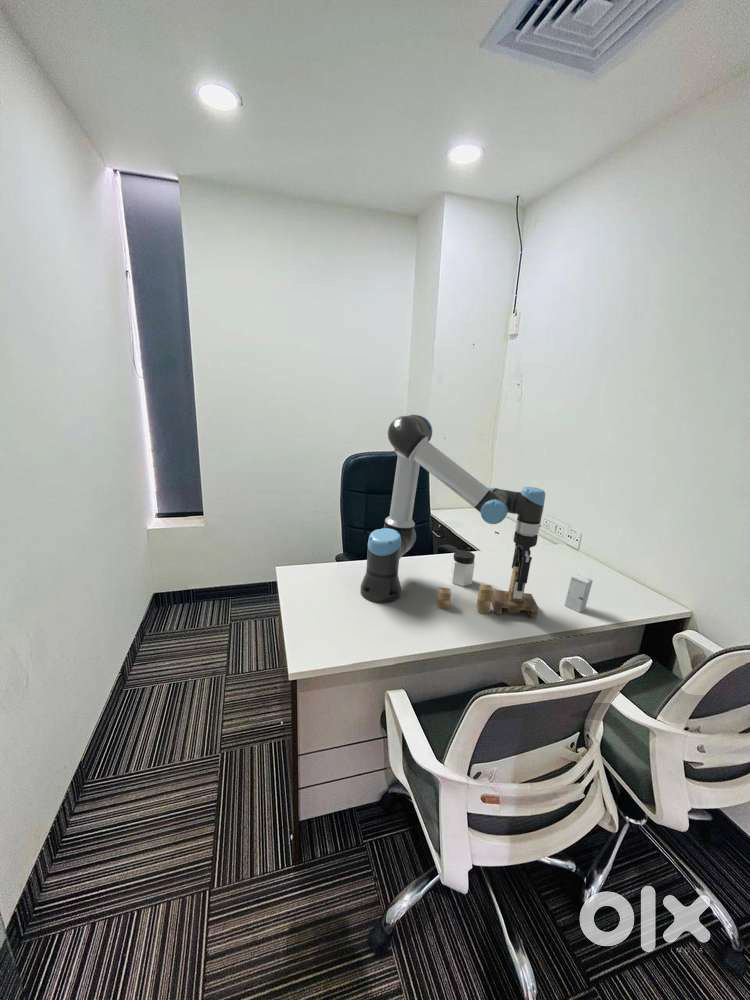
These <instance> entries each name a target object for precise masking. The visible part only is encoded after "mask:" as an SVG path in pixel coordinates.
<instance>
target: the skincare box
mask: <svg viewBox="0 0 750 1000" xmlns="http://www.w3.org/2000/svg"><path fill="white" fill-rule="evenodd" d="M592 585H593V580H592V579H590V578H589V577H586V576H584V575H581V574H579V573H576V574H574V575H572V576H571V578H570V581H569V586H568V589H567V592H566V593H567V594H566V596H565V601H564V606H565V607H567V608H569V609H571V610H573V611H575V612H577V613H581V612H583V611H585V610H586V607H587V603H588V601H589V600H588V599H589V597H590V592H591V588H592Z"/></svg>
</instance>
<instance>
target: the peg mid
mask: <svg viewBox="0 0 750 1000" xmlns="http://www.w3.org/2000/svg"><path fill="white" fill-rule="evenodd" d="M493 590H494V589H493V587H492V585H490V584H482V583H479V588H478V594H477V598H476V599H477V600H476V601H477V602H476V607H475V608H476V610H477V611H476V612H477V613H480V614H487V615H488V614H490V610H491V606H492V603H491V600H492V594H493Z"/></svg>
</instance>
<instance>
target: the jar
mask: <svg viewBox="0 0 750 1000" xmlns="http://www.w3.org/2000/svg"><path fill="white" fill-rule="evenodd" d="M475 557H476V555H475V554H474V553H473V552H471V551H469V550H465V549H458V550H456V551H454V553H453V557H452V561H451V571H450V577H449V578H450V580H451V583H452V584H453V585H458V586H461V587H467V586H471V585H472V584H473V577H474V571H475V569H474V568H475Z"/></svg>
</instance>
